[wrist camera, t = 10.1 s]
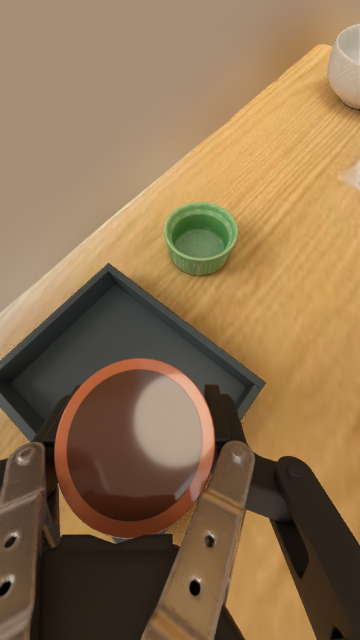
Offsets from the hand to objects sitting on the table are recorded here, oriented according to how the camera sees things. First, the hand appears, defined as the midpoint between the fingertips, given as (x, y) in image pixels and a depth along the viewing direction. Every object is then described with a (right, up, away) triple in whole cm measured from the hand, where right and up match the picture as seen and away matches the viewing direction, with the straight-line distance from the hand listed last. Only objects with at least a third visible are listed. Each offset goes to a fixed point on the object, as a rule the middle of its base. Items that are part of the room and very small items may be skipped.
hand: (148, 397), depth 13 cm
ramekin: (+4, +14, +19) cm, 24 cm away
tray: (-4, -3, +13) cm, 14 cm away
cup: (0, -4, +4) cm, 6 cm away
